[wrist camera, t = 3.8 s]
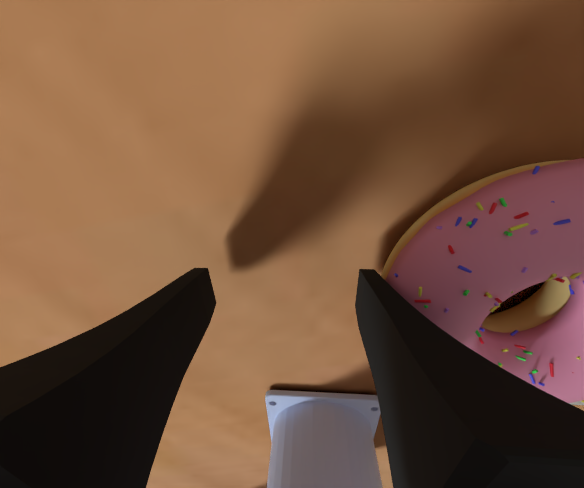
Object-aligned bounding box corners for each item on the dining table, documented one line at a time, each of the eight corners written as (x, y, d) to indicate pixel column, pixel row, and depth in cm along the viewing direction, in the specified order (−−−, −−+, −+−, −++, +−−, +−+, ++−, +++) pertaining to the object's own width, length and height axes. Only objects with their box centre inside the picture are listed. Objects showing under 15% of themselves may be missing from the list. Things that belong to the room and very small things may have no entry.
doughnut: (702, 217, 9) (954, 282, 6) (489, 370, 14) (550, 457, 11) (477, 93, 8) (620, 73, 4) (328, 311, 13) (336, 387, 9)
